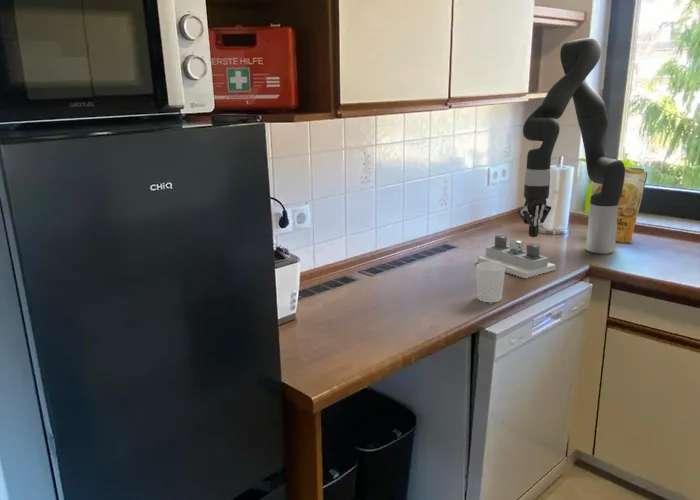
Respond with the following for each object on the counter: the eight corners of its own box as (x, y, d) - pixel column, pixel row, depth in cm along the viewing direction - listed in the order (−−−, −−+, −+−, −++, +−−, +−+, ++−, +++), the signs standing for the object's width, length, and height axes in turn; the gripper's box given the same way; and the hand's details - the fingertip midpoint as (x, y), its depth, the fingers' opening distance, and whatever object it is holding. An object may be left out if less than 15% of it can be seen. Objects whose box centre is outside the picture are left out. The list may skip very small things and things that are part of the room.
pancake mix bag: (590, 233, 231) (597, 163, 223) (640, 241, 218) (648, 167, 210) (583, 236, 227) (589, 165, 219) (633, 245, 214) (641, 170, 206)
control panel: (506, 255, 205) (507, 242, 204) (555, 270, 188) (556, 255, 187) (477, 262, 198) (478, 248, 197) (525, 278, 181) (526, 263, 180)
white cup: (498, 306, 160) (500, 272, 157) (471, 301, 164) (472, 268, 161) (507, 297, 166) (508, 264, 164) (480, 292, 170) (482, 260, 168)
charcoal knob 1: (500, 244, 200) (500, 234, 199) (509, 246, 197) (509, 236, 196) (492, 246, 198) (492, 236, 197) (500, 248, 195) (501, 238, 194)
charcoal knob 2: (532, 253, 189) (532, 243, 188) (541, 256, 185) (542, 245, 184) (523, 255, 187) (524, 245, 186) (533, 258, 183) (534, 247, 182)
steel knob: (515, 248, 194) (516, 238, 193) (524, 251, 191) (525, 241, 190) (507, 250, 192) (507, 240, 191) (516, 253, 189) (517, 243, 188)
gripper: (541, 179, 186) (537, 231, 191) (513, 183, 179) (509, 237, 184) (561, 182, 180) (556, 236, 184) (531, 186, 173) (527, 242, 178)
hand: (533, 236), depth 184 cm, fingers closed
